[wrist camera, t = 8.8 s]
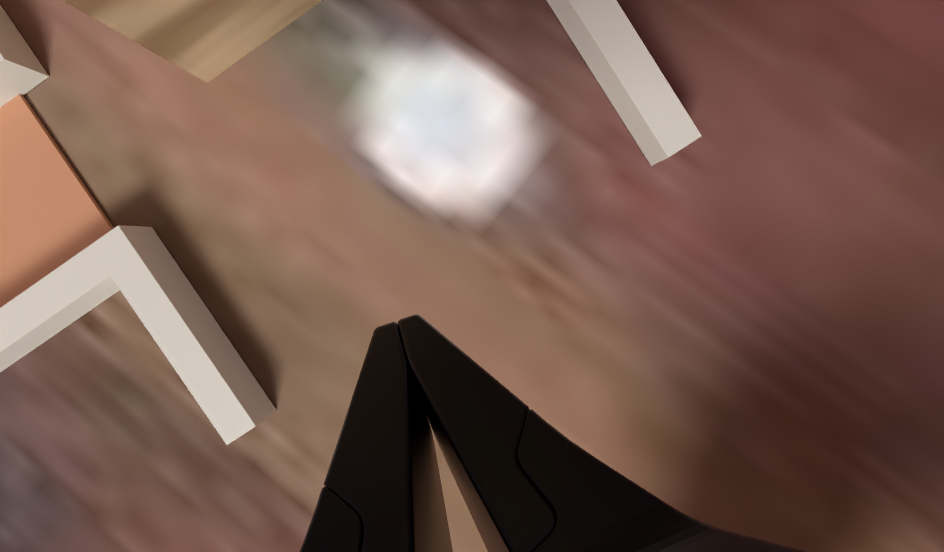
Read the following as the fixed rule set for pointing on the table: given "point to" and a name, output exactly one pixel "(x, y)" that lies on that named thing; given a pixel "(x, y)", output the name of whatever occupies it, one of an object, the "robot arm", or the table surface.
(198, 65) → the oak block
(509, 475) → the robot arm
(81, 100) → the table surface
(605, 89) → the white flat frame
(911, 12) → the table surface
